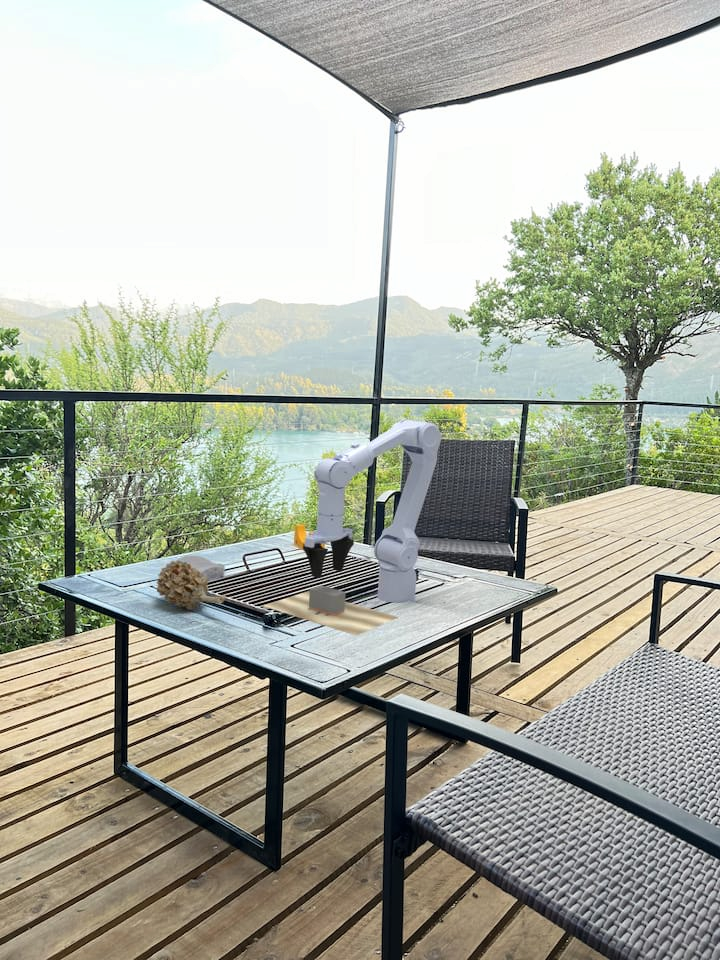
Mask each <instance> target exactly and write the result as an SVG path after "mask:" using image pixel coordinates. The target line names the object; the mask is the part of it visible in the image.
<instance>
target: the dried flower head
mask: <svg viewBox="0 0 720 960" xmlns="http://www.w3.org/2000/svg"><path fill="white" fill-rule="evenodd" d="M160 570H161V571H160V572H159V574H157V577H158V579H157V581H156V583H157V587H156V592H157V593H158V594H159V596H164V598H163V599H164V601H166V602H167V603H168V604H172V603H173V604H174V606H175V607H177V606H178V607H179V608H182V607H184V606H185V608H186V609H187V611H188V610H192V611H193V609H194V608H195V607H196V606H198V607H199V606H200V605H201V603H203V602H208V603H212V604H213V603H214V604H224V602H225V600H226V595H225V594H222V595H221V596H210V595H207V594H208V592H209V587H208V582H209V580H206V578H205V577H202V576H201V573H200V571H197V569H196V568H194V569H193V570H192V568H191V565H190V563H189V564H187V563H186V562H184V563H183V564H182V565H181V564H180V563H179V561H177V560H176V561H174V560H171V561H170V563H167V564H165V567H162V568H161V569H160Z"/></svg>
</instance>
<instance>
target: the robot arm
mask: <svg viewBox="0 0 720 960" xmlns="http://www.w3.org/2000/svg"><path fill="white" fill-rule="evenodd" d="M442 439H443V437H442V434H441V431H440V429H439V427H438V426H437V425H436V424H435V423H434V422H424V421H419V420H412V419H408V418H404V419H401V420H400V421H398V422H395V423H393V424H392V427H391V428H389V429H388V430H387V431H385V432H383V433H382V434H381V435H378V436H377V437H376V438H374V439H373V440H371V441H370V442H367V444H365V443H361V442H353V443H352V444H350V448H348V449H346V450H344V451H342V452H341V453H340V452H337V453H336V454H334V457H332V458H324V459H322V460H321V461H319V463H318V464H317V466H316V468H315V470H314V471H313V476H314V478H315V481H316V482H317V489H318V497H317V498H318V500H317V501H318V502H317V517H316V520H317V521H316V530H315V529H314V530H313V531H312V532H313V534H312V535H310V536H309V535H308V536H307V537H305V544H303V549H304V550H303V551H304V553H305V555H306V556H307V559H308V563H309V567H310V572H311V577H314V578H317V579H320V578H322V575H323V571H324V570H323V568H324V562H325V557H326V556H327V553H328V550H329V548H326V547H325V548H322V546H321V544H324V543H325V544H327V543H330V545H331V552H332V553H331V554H332V569H333V570H334V571H336V572H337V571H338V572H342V571H343V569H344V565H345V563H346V560H347V557H348V555H349V552H350V551H351V549H352V547H353V546H354V544H355V540H354V539H351V538H353V529H352V528H347V527H345V528H343V527H344V514H345V513H344V511H345V498H346V497H345V493H346V487H347V486H348V485H349V484H350V482H351V480H352V478H353V477H354V476H356V475H358V474H359V473H361V472H362V471H365V470H366V469H367V468H369V467H371V466H373V463H374V458H377V457H379V456H380V455H382V454H385V453H387V452H388V451H391V450H392V449H395V448H398V446H400V447H401V448H402V449H403V450H404V451H405V452H406V454H407V455H408V456H409V458H410V461H411V465H410V468H409V472H408V474H407V478H406V481H405V483H404V487H403V490H402V493H401V496H400V499H399V503H398V505H397V508H396V511H395V513H394V514H395V515H394V517H393V521H392V524H391V525H389V526H387V527H386V528H384V529H383V530H382V532H381V536H380V537H379V538H378V539H377V540H376V542H375V545H374V548H373V555H374V557H375V559H376V560H377V561H378V562H377V565H378V566H379V572H378V587H377V598H378V600H381V601H384V602H387V603H388V602H389V603H403V602H407V601H410V602H413V603H418V602H419V600H418V599H416V588H417V573H416V570H415V569H414V566H415V565H416V564H417V560H418V557H419V554H418V553H419V551H418V550H419V546H420V540H419V538H418V535H416V532H415V530H416V527H417V523H418V522H419V521H418V520H419V517H420V515H421V511H422V508H423V505H424V502H425V499H426V496H427V493H428V489H429V487H430V483H431V481H432V478H433V474H434V472H435V468H436V465H437V461H438V451H439V447H440V445H441V441H442ZM399 539H400V540H399Z"/></svg>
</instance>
